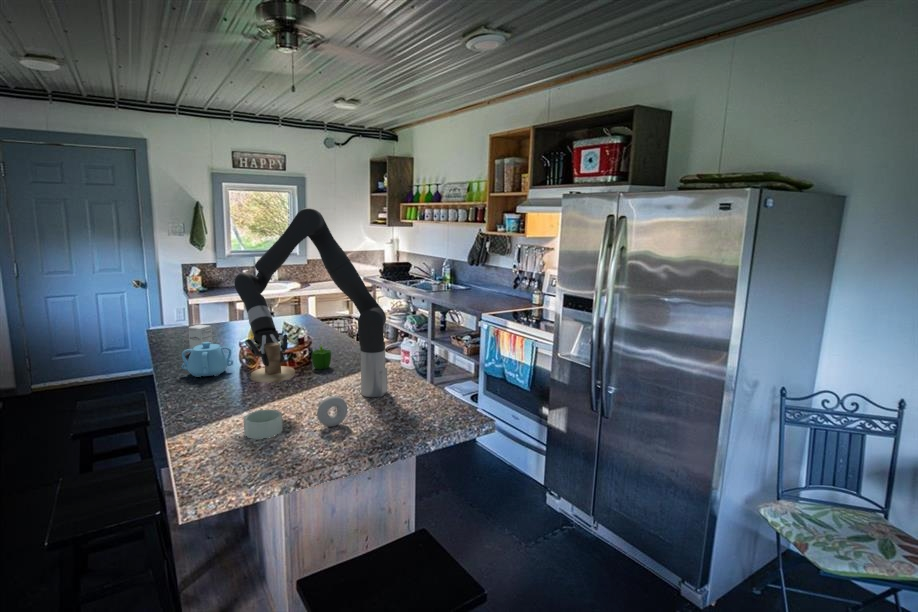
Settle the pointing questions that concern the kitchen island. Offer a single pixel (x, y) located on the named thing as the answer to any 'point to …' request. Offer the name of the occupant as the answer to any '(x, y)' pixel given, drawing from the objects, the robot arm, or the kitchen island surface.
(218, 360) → the decorative pot
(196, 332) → the supplement box
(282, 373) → the lid
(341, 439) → the kitchen island surface
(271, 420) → the bowl
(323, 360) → the bell pepper
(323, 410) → the donut
